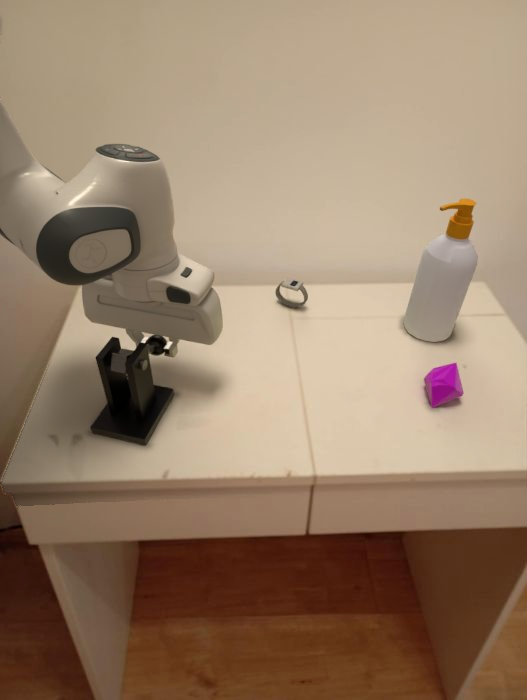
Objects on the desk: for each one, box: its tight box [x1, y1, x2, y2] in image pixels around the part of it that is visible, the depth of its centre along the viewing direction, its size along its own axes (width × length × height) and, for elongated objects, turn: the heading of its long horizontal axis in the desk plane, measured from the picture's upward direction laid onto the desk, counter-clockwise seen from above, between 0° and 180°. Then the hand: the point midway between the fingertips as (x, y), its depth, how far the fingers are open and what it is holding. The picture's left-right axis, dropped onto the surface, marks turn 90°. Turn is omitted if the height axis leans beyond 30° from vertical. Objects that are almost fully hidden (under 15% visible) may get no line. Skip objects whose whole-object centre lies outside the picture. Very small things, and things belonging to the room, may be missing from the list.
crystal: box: [423, 362, 464, 409], centre depth 71 cm, size 5×5×5 cm
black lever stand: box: [90, 336, 175, 446], centre depth 64 cm, size 10×8×12 cm
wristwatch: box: [275, 277, 309, 309], centre depth 88 cm, size 6×3×5 cm, turn 64°
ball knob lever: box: [110, 334, 168, 374], centre depth 66 cm, size 13×3×3 cm, turn 166°
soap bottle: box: [403, 198, 479, 343], centre depth 78 cm, size 9×9×24 cm
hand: (157, 351), depth 72 cm, fingers closed on ball knob lever, 3 cm apart
